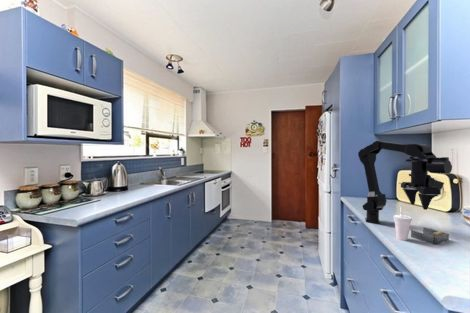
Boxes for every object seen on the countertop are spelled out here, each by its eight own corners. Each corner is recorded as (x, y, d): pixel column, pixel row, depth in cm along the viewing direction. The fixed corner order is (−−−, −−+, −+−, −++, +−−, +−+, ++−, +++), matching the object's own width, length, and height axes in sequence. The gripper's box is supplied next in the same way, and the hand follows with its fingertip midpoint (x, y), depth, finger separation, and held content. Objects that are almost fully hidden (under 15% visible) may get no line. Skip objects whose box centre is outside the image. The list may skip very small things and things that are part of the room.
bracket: (410, 236, 98) (411, 228, 98) (424, 233, 102) (424, 224, 102) (435, 244, 90) (435, 235, 90) (448, 240, 94) (448, 231, 94)
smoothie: (393, 234, 100) (394, 204, 100) (411, 238, 96) (412, 206, 96) (392, 239, 95) (393, 207, 95) (411, 243, 91) (412, 209, 91)
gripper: (456, 174, 87) (456, 213, 88) (426, 170, 106) (426, 203, 106) (424, 174, 90) (423, 212, 90) (400, 170, 108) (400, 202, 108)
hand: (418, 206), depth 99 cm, fingers open, 9 cm apart
